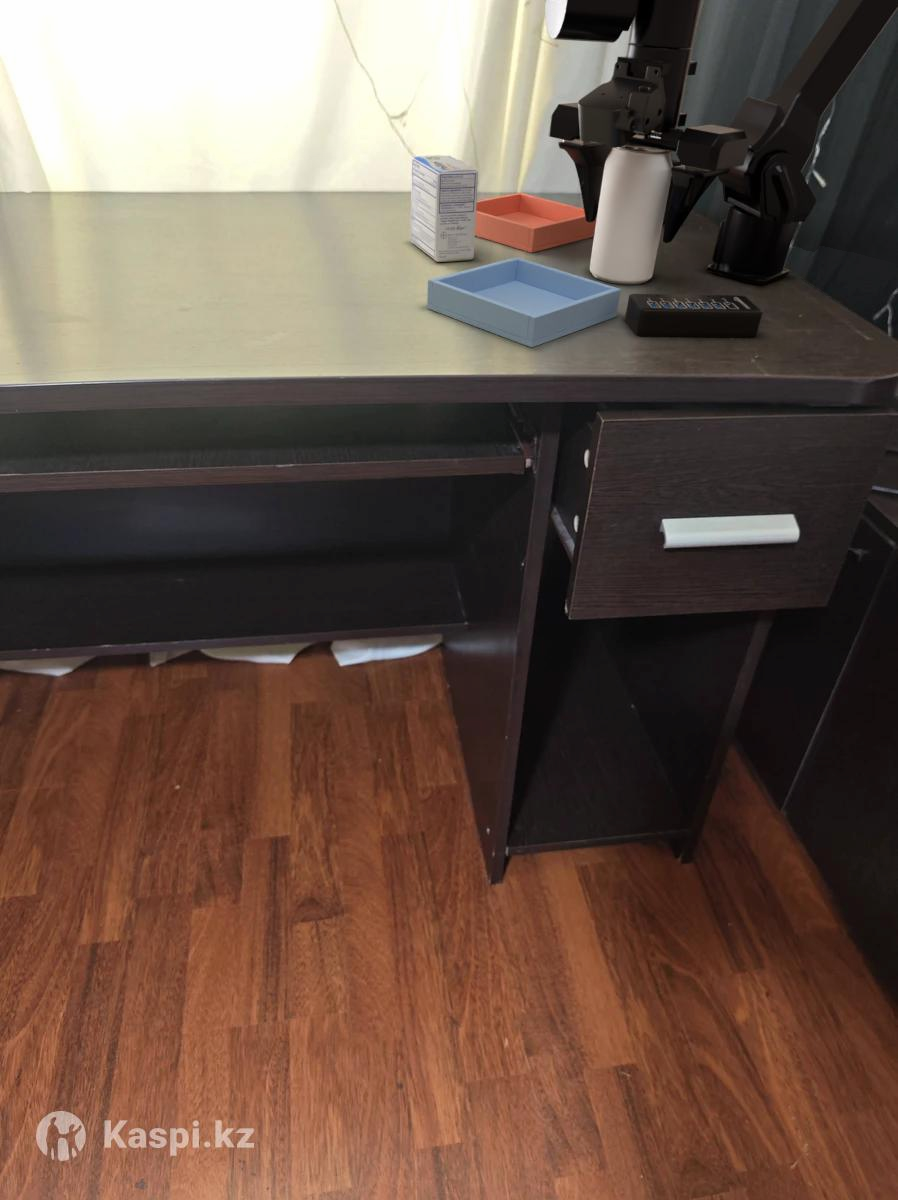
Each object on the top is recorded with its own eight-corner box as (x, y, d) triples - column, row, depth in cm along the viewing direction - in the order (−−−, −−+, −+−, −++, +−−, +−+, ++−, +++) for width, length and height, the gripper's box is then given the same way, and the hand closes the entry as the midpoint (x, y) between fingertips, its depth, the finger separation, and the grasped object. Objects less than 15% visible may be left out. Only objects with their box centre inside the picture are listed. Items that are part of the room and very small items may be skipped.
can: (651, 289, 85) (677, 155, 77) (586, 281, 86) (605, 148, 78) (652, 270, 90) (676, 143, 83) (590, 264, 91) (609, 137, 83)
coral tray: (597, 235, 100) (600, 213, 99) (531, 252, 93) (534, 228, 91) (518, 214, 106) (520, 192, 105) (450, 228, 99) (451, 205, 98)
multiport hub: (623, 318, 77) (627, 293, 76) (738, 320, 78) (745, 295, 77) (637, 336, 74) (642, 309, 72) (757, 337, 75) (765, 311, 74)
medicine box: (474, 261, 89) (480, 170, 84) (434, 263, 88) (438, 171, 82) (446, 240, 95) (450, 154, 90) (409, 242, 93) (411, 155, 88)
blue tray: (616, 316, 77) (621, 288, 76) (531, 347, 70) (535, 317, 69) (514, 283, 84) (516, 256, 82) (426, 308, 77) (427, 279, 75)
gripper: (521, 35, 76) (504, 222, 85) (706, 60, 66) (663, 268, 75) (595, 35, 82) (571, 208, 92) (772, 57, 73) (725, 248, 82)
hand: (627, 231), depth 85 cm, fingers open, 9 cm apart
